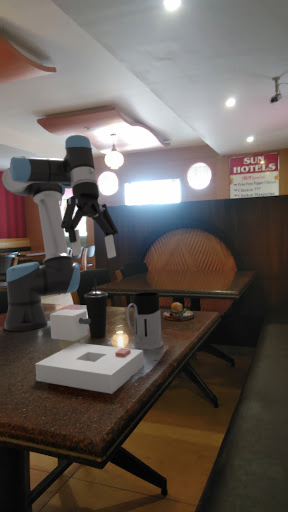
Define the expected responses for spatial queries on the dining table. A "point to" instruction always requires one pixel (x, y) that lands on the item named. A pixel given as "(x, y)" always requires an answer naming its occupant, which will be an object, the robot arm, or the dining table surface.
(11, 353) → the dining table surface
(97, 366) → the socket
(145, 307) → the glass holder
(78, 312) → the plug
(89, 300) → the drinking cup
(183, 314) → the burger
